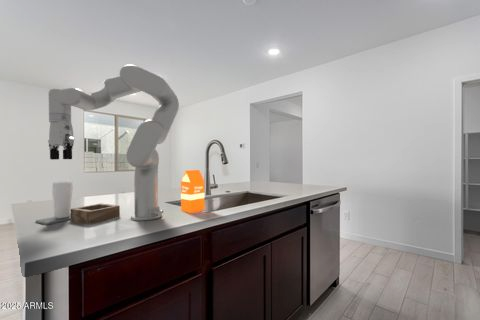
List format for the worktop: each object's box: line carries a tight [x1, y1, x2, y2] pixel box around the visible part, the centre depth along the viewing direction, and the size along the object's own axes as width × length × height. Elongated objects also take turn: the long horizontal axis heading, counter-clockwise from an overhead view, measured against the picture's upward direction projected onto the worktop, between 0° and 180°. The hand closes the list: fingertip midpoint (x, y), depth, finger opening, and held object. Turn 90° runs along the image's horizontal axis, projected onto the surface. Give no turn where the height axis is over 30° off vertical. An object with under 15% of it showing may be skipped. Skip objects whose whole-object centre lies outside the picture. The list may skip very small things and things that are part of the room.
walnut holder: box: [70, 203, 121, 225], centre depth 100 cm, size 13×13×5 cm
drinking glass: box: [52, 181, 73, 219], centre depth 99 cm, size 7×7×15 cm
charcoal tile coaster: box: [35, 213, 71, 226], centre depth 99 cm, size 9×14×1 cm, turn 154°
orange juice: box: [180, 169, 205, 214], centre depth 115 cm, size 8×9×20 cm
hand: (61, 159), depth 99 cm, fingers open, 9 cm apart
